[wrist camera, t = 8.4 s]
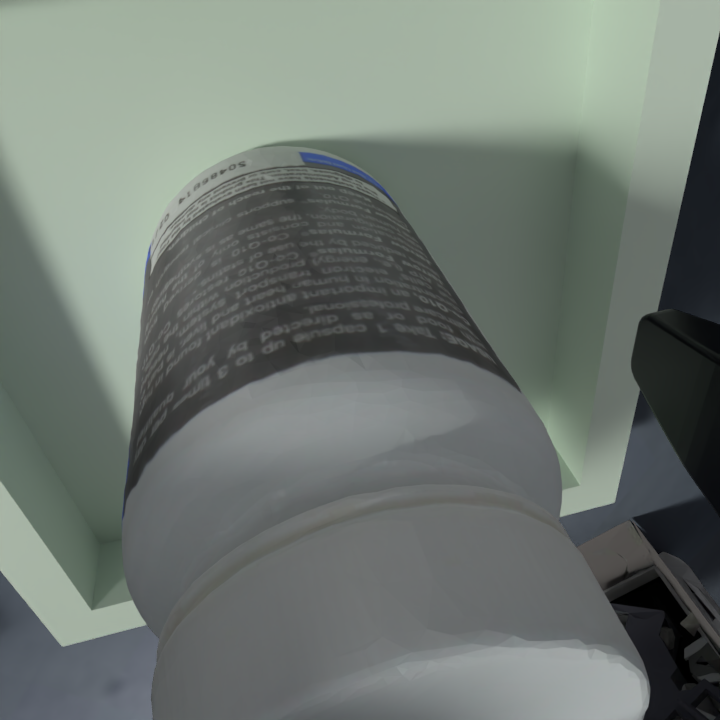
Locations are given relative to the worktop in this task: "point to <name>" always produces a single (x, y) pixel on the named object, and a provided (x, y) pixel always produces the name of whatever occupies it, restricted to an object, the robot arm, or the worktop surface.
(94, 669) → the worktop surface
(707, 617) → the electrical switch
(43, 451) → the tray
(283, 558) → the pill bottle
